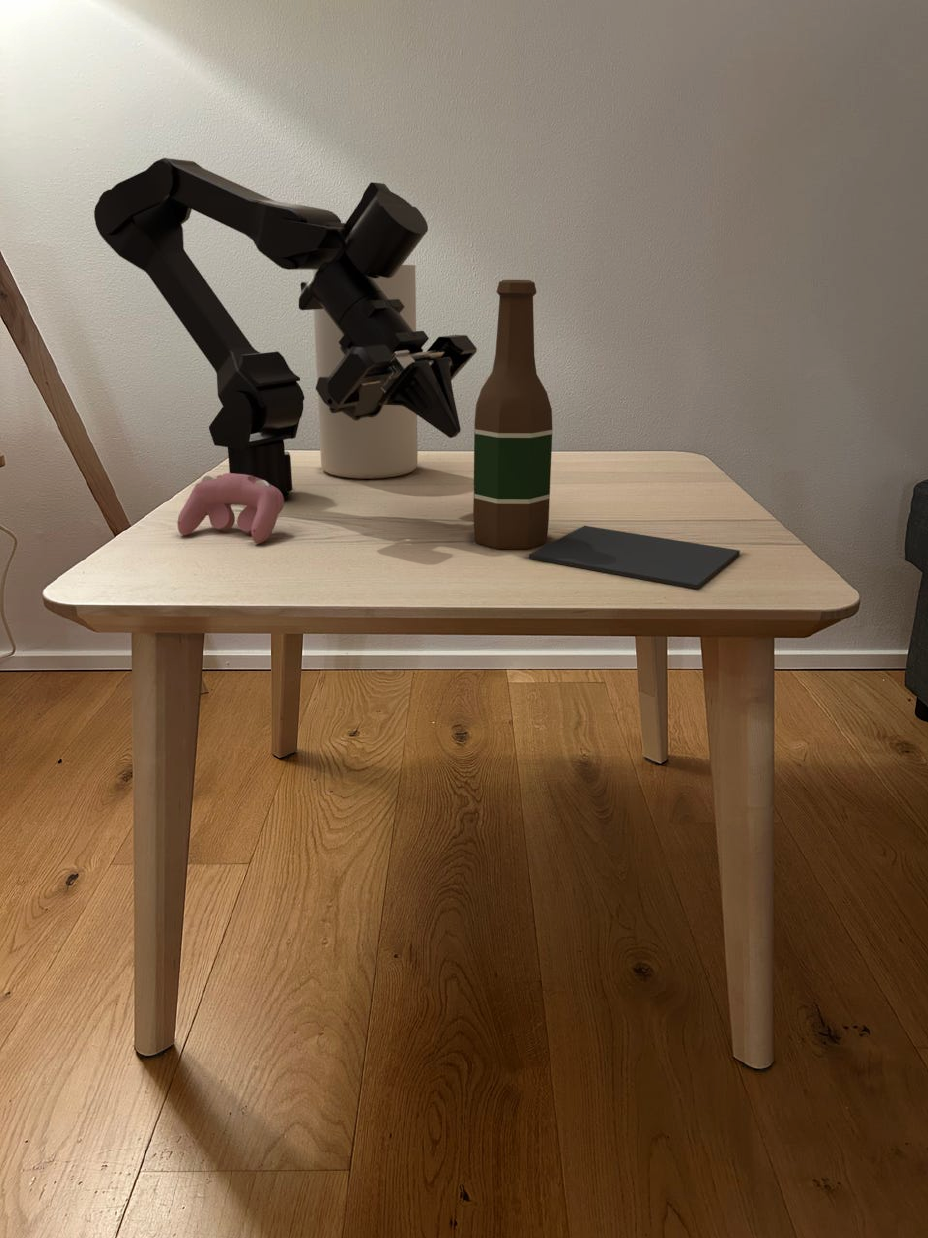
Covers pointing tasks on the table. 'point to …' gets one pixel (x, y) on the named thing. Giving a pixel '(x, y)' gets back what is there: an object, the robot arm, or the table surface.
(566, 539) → the mat
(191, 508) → the video game controller
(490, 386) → the beer bottle
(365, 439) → the cylinder vase
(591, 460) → the table surface
